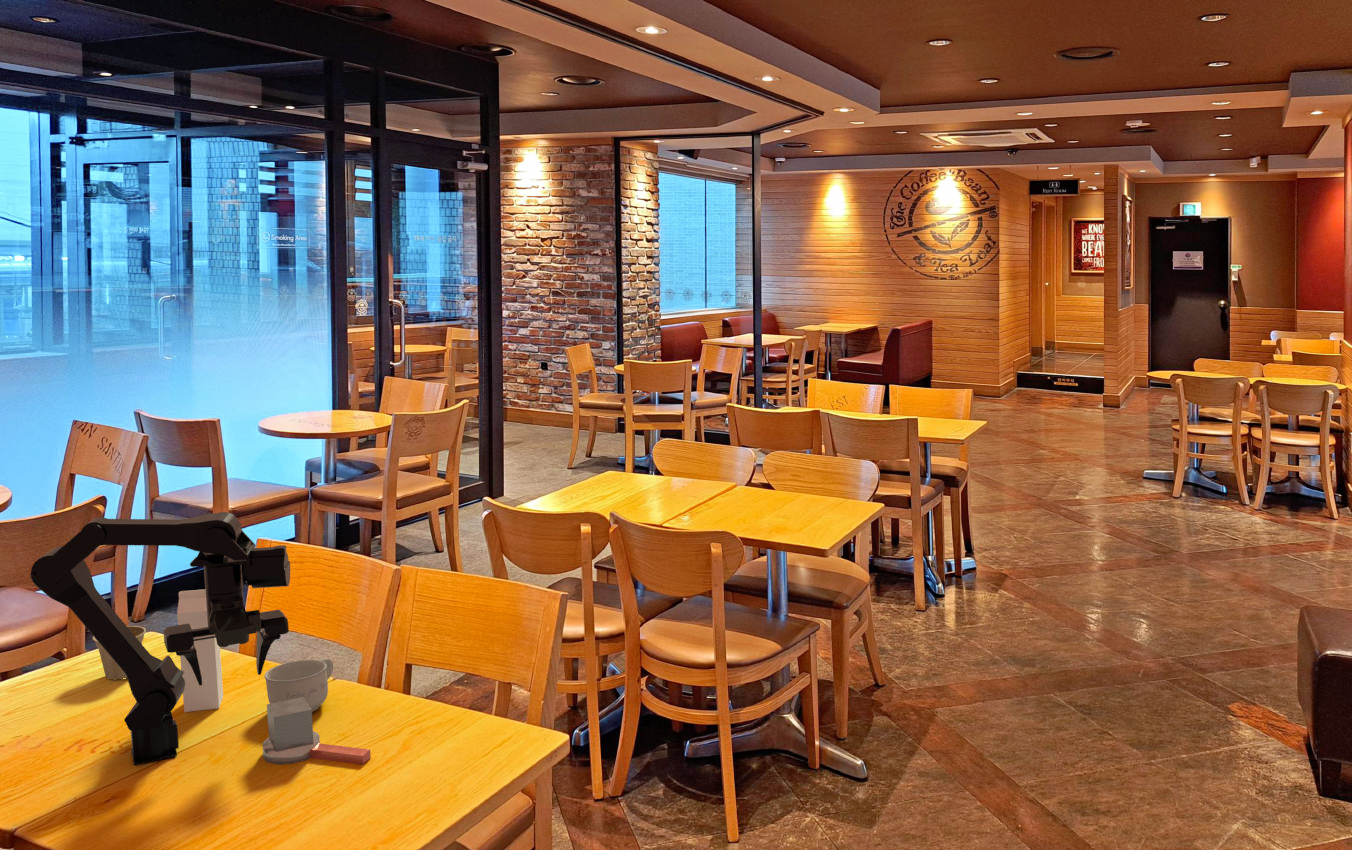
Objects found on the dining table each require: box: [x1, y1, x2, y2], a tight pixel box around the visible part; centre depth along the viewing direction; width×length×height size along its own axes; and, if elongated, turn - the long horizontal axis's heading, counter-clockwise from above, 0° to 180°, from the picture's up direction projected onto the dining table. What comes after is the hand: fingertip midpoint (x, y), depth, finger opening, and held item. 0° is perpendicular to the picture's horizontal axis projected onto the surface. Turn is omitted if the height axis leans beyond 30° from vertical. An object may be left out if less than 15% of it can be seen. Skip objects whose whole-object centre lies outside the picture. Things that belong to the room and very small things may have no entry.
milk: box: [176, 588, 224, 713], centre depth 198 cm, size 6×6×22 cm
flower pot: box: [92, 625, 147, 680], centre depth 213 cm, size 9×9×9 cm
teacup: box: [264, 657, 334, 713], centre depth 198 cm, size 14×11×8 cm
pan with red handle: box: [262, 730, 372, 765], centre depth 178 cm, size 18×9×5 cm, turn 76°
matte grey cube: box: [266, 697, 314, 752], centre depth 179 cm, size 6×6×6 cm
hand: (230, 679), depth 180 cm, fingers open, 9 cm apart
